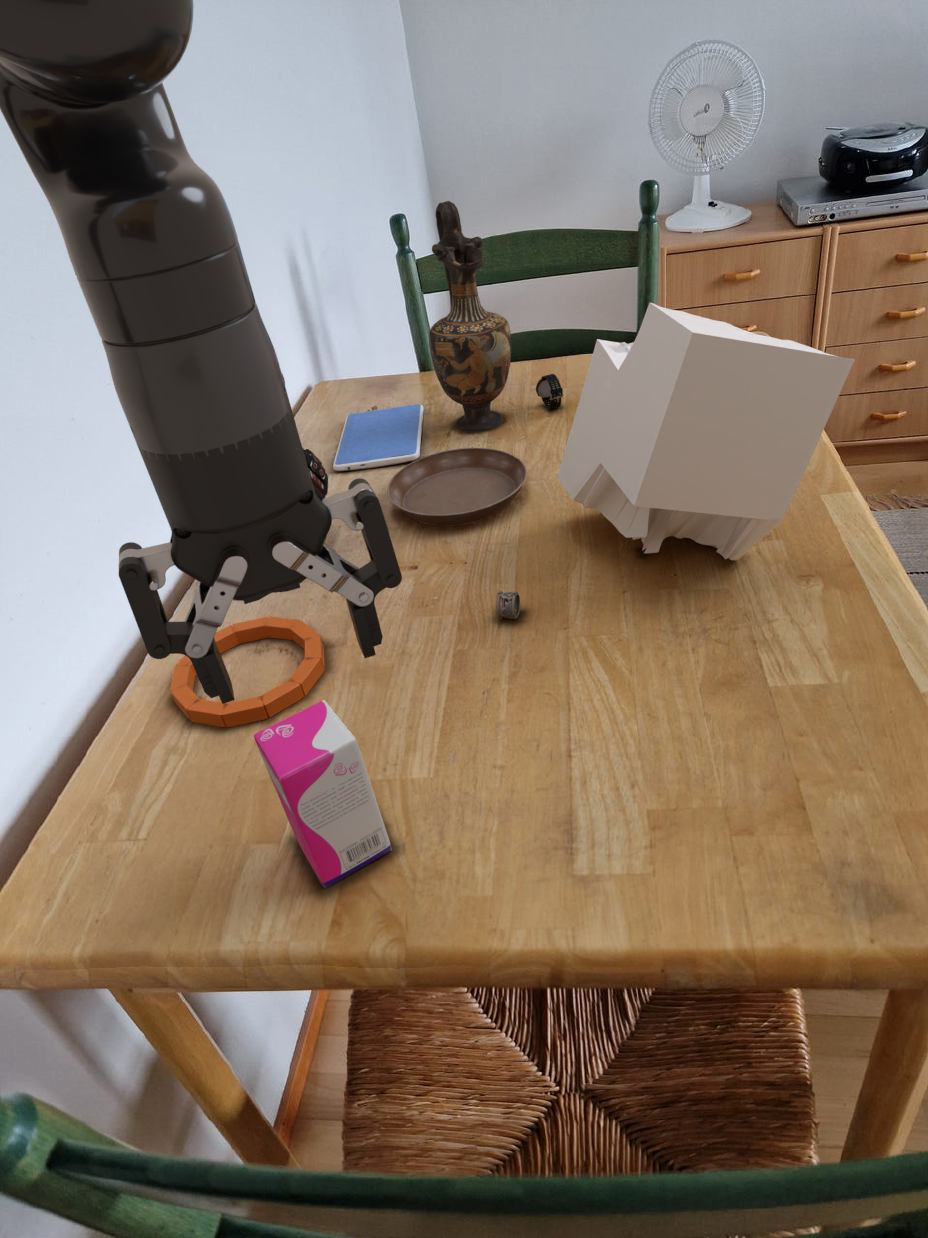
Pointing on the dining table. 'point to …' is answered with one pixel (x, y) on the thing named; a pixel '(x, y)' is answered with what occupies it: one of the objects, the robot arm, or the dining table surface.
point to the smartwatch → (550, 391)
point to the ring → (268, 701)
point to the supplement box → (324, 791)
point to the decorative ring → (508, 605)
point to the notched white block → (698, 430)
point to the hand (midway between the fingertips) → (298, 671)
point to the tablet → (380, 438)
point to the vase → (468, 330)
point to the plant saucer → (457, 485)
